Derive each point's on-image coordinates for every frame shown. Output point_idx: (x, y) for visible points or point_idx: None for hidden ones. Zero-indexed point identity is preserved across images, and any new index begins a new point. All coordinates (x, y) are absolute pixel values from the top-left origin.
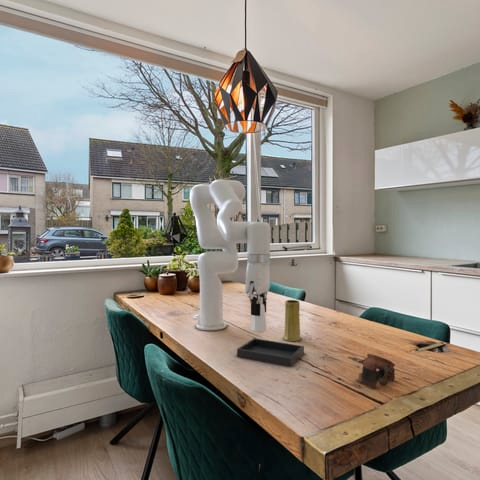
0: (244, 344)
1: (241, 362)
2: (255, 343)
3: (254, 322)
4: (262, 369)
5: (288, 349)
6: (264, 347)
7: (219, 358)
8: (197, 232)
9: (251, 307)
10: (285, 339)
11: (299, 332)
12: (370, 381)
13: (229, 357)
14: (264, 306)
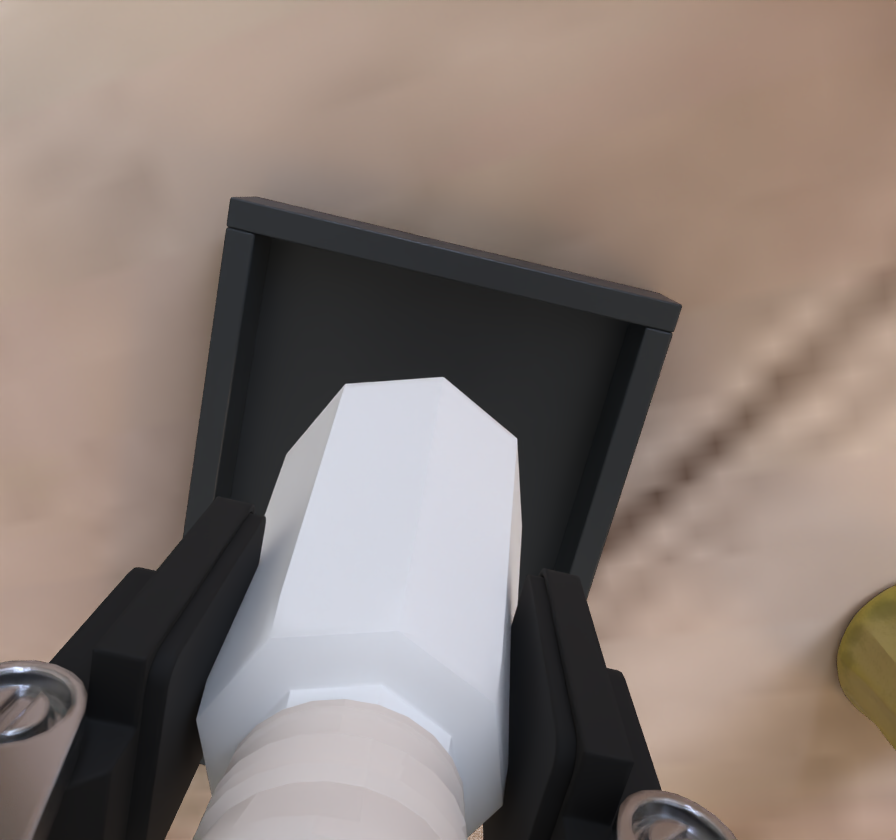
0: (412, 245)
1: (120, 286)
2: (632, 323)
3: (275, 499)
4: (39, 507)
5: None
6: (557, 435)
7: (139, 8)
8: None
9: (151, 590)
10: (877, 595)
11: None
12: None
13: (206, 118)
14: (488, 826)
